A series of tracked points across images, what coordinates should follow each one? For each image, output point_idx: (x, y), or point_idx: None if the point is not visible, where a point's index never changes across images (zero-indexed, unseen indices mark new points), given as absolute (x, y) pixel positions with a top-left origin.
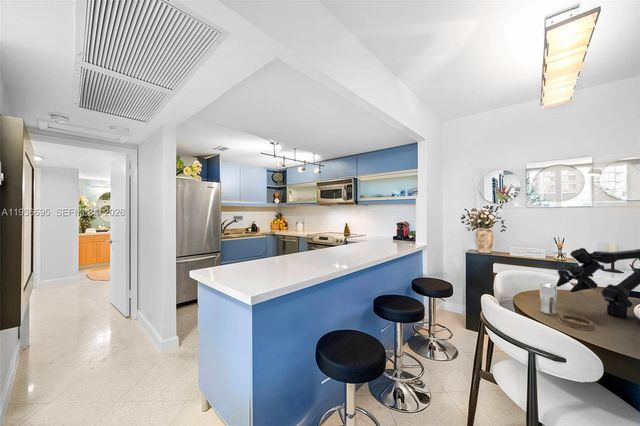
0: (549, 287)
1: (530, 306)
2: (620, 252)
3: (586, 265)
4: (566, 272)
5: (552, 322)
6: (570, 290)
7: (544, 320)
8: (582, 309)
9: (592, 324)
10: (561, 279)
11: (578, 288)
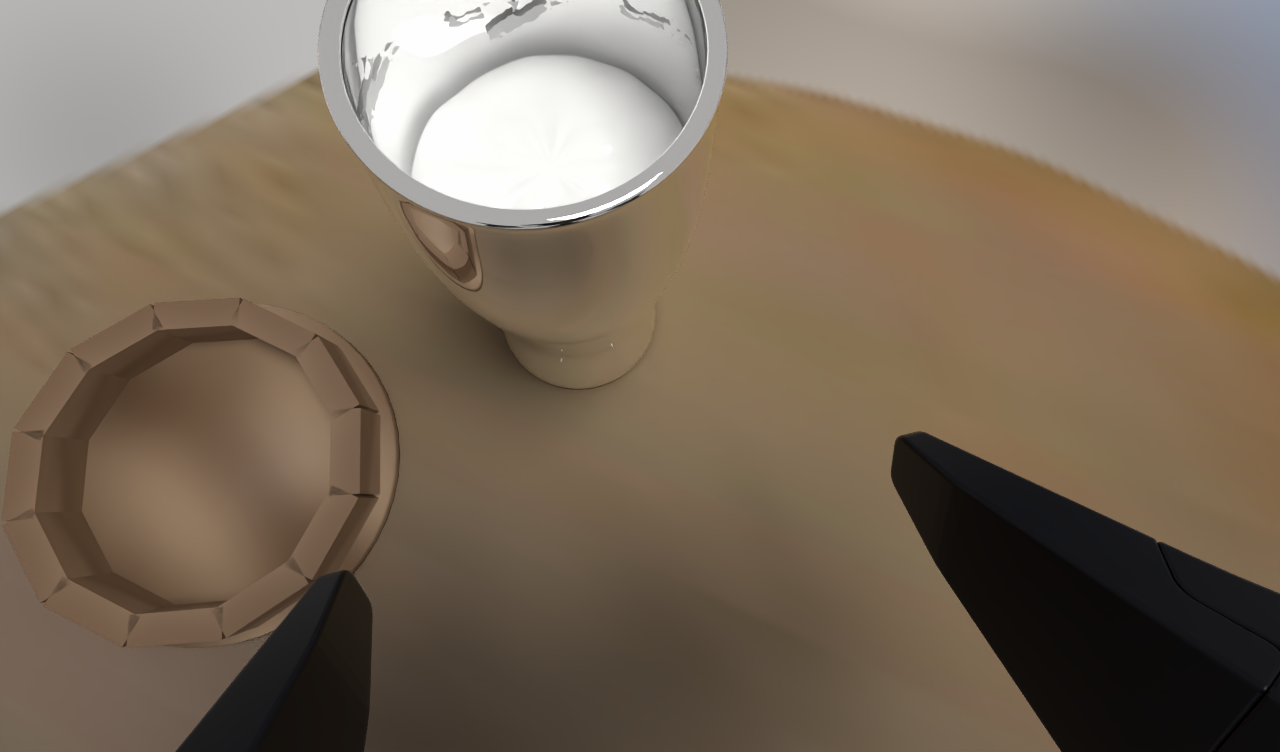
0: (332, 5)
1: (734, 191)
2: None
3: None
4: None
5: (226, 223)
6: (332, 579)
7: (268, 162)
8: None
9: (39, 595)
10: (1178, 655)
11: None
